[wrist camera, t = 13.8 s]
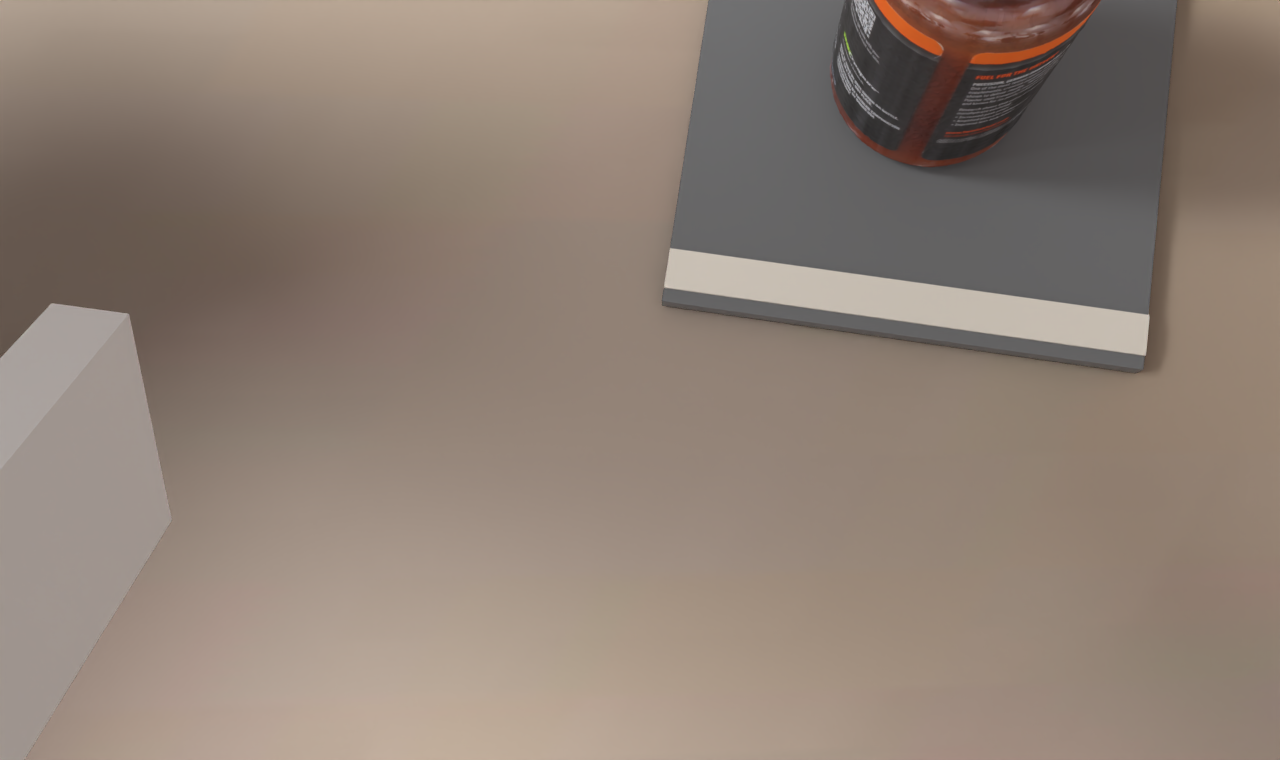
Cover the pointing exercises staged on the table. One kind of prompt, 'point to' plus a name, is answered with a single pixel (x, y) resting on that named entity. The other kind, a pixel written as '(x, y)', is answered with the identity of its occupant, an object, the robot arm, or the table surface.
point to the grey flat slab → (926, 197)
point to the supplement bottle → (945, 71)
